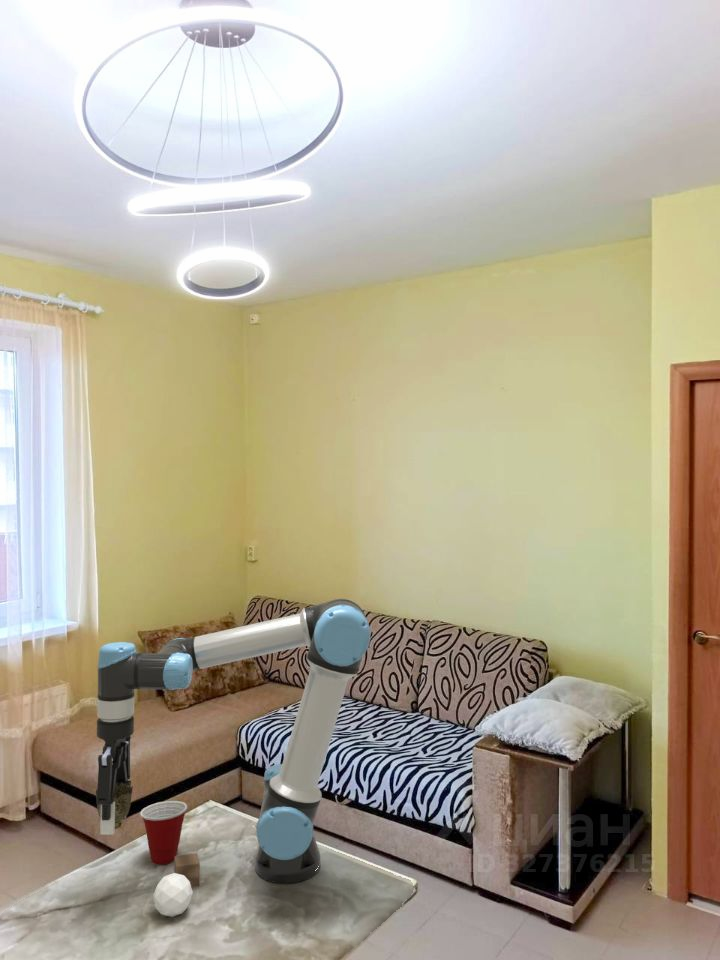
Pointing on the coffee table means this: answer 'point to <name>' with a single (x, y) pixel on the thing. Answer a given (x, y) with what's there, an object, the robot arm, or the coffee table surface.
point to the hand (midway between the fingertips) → (113, 825)
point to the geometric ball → (172, 895)
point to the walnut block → (188, 867)
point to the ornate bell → (120, 803)
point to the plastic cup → (163, 829)
